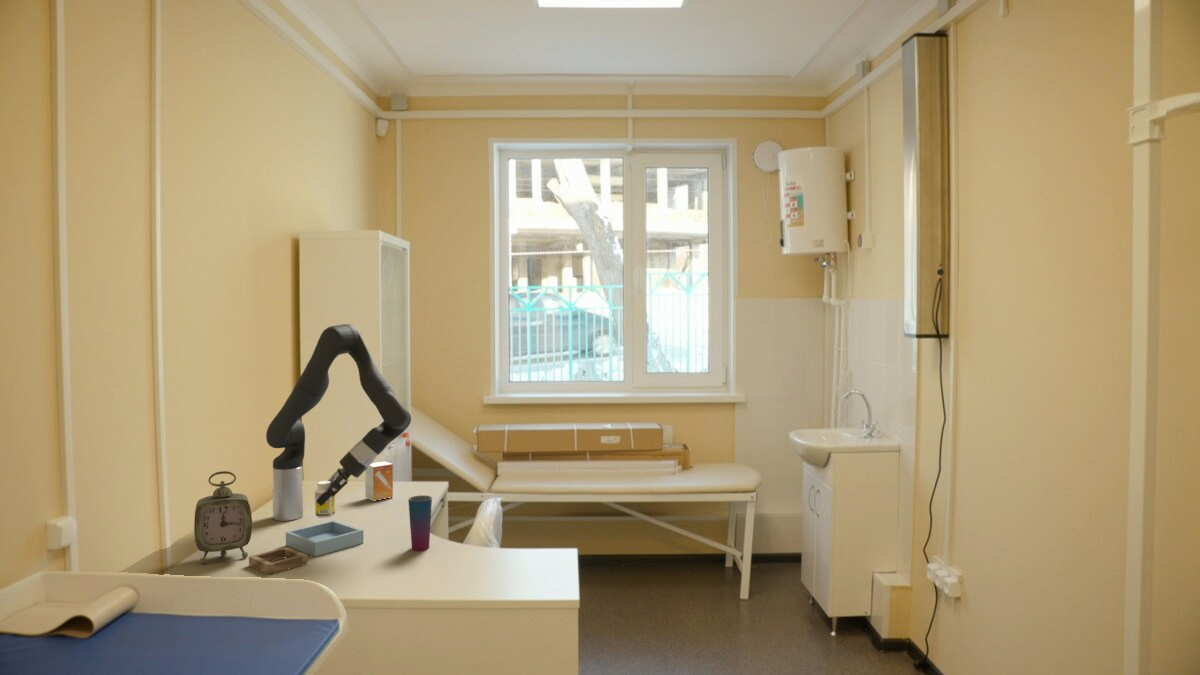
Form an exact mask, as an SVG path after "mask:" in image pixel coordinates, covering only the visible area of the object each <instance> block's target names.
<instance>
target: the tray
mask: <svg viewBox="0 0 1200 675" xmlns="http://www.w3.org/2000/svg"><path fill="white" fill-rule="evenodd" d="M361 543H362V544H364V529H361V528H358V527H355V526H353V525H352V526H351V525H349V524H345V523H343V522H340V521H336V520H335V519H334V520H329V521H326V522H322V523H318V524H314V525H310V526H309V525H308V526H305V527H301V528H297V529H293V530H290V531H285V546H286V545H287V546H286V547H289V546H290V547H289V548H291V547H293V548H292V549H294V548H295V549H294V550H296V549H298V550H297V551H299V550H300V551H299V552H301V551H303V552H302V553H304V552H306V553H305V554H307V553H308V554H307V555H309V554H310V556H312V555H313V556H312V557H314V556H316V557H320V556H323V555H326V554H330V553H333V552H337V551H340V550H344V549H348V548H351V547H355V546H358V544H359V545H361ZM319 555H320V556H319Z"/></svg>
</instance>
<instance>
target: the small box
mask: <svg viewBox="0 0 1200 675" xmlns="http://www.w3.org/2000/svg"><path fill="white" fill-rule="evenodd" d="M393 471H394V465H393V463H391V462H388V461H378V462H373V463H372V464H371V465H370V466H369V467H368V468H367V469H366V470H365V471H364V473H365V476H364V477H365V478H364V480H365V482H364V483H365V485H364V486H365V487H364V488H365V493H364V496H365V497H366V498H368V499H370V500H373V501H374V500H379V499H384V498H389V497H393V498H394V495H393V494H394V472H393ZM365 497H364V498H365ZM370 500H369V501H370Z"/></svg>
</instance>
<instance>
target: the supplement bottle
mask: <svg viewBox="0 0 1200 675" xmlns="http://www.w3.org/2000/svg"><path fill="white" fill-rule="evenodd" d="M330 482H331V481H328V480H321V481H319V482H317V488H316V489H315V490H314V501H315V502H314V506H315V517H316V518H319V519H320V518H321V519H326V518H331V517H333V516H335V514H336V499H335V498H336V495H335V496H332V497H330V498H329V499H328V500H327V501H326V502H325V503H324V504H323V505H322V506H321V505H319V504H318V503H317V499H318V498H319V497H320V496H321V495H322V494H323V493H324V492H325V491H326V489H327V488H328V487H329V483H330ZM331 490H333V491H334V488H332V489H331Z"/></svg>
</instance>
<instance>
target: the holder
mask: <svg viewBox="0 0 1200 675" xmlns="http://www.w3.org/2000/svg"><path fill="white" fill-rule="evenodd" d="M283 557H286V558H287V559H286V558H283ZM279 558H282V559H281V560H280V559H279ZM276 559H278V560H276ZM272 560H275V561H272ZM269 561H271V562H269ZM306 563H307V564H308V554H307V553H304V552H301V551H299V550H296V549H294V548H291V547H289V546H285V547H280V548H276V549H273V550H269V551H264V552H261V553H258V554H257V553H256V554H253V555H250V556H248V564H249V565H250V566H249V565H248V566H249V567H251V566H252V567H251V568H253V567H255V568H254V569H256V568H257V569H256V570H258V569H259V570H258V571H260V570H262V571H263V573H265V574H267V573H268V575H269V574H270V575H272V574H271V573H273V574H275V573H274V572H277V571H280V572H282V571H281V570H284V571H286V570H285V569H287V570H289V569H288V568H291V567H294V568H296V567H295V566H298V567H300V566H299V565H301V566H303V565H302V564H305V565H307V564H306ZM291 569H292V568H291ZM262 571H261V572H262ZM277 573H278V572H277Z"/></svg>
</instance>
